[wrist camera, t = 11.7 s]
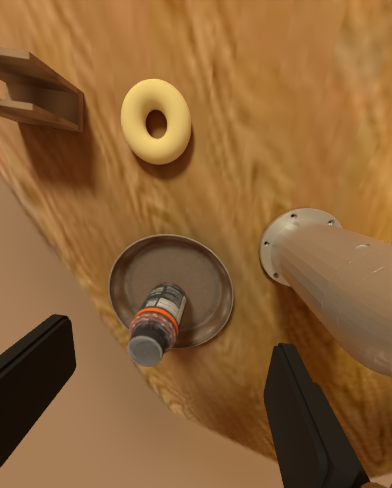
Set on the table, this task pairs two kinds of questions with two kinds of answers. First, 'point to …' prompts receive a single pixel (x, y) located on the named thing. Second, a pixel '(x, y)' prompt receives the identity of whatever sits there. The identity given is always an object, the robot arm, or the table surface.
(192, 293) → the plant saucer
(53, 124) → the napkin holder
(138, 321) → the supplement bottle
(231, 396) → the table surface
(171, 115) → the donut
